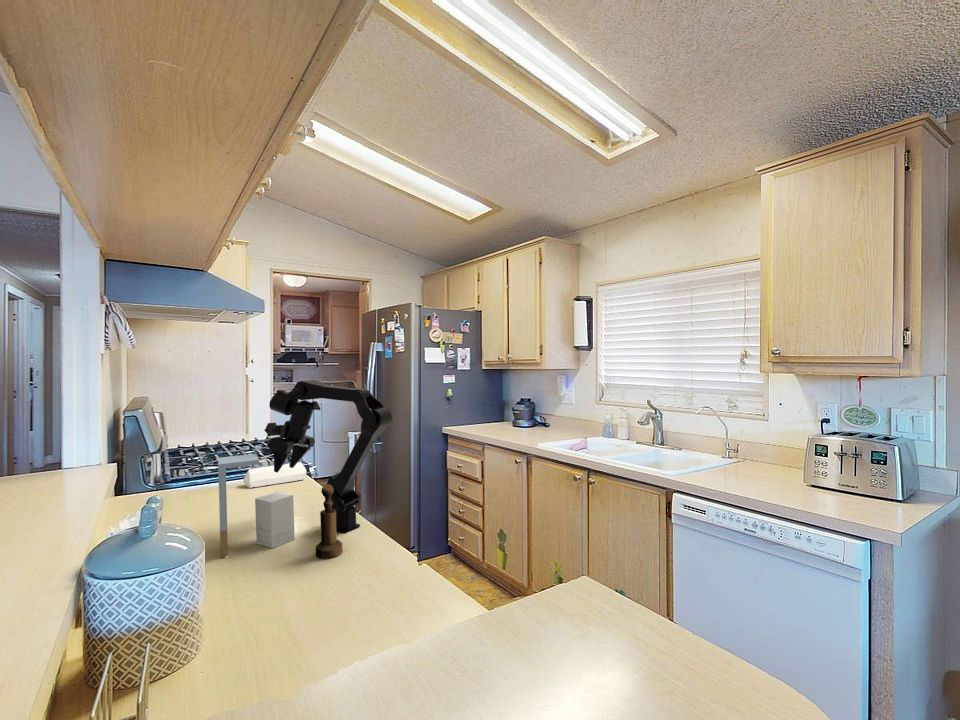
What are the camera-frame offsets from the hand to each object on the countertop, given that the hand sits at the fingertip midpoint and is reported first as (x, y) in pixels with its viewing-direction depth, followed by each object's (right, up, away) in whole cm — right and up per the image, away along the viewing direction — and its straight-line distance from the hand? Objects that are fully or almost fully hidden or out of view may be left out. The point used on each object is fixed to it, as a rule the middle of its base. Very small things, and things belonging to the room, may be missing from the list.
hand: (283, 469), depth 145 cm
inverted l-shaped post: (-5, -17, -16) cm, 24 cm away
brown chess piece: (+20, -17, -21) cm, 34 cm away
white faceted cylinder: (-23, -17, +49) cm, 57 cm away
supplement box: (+3, -17, -12) cm, 21 cm away
